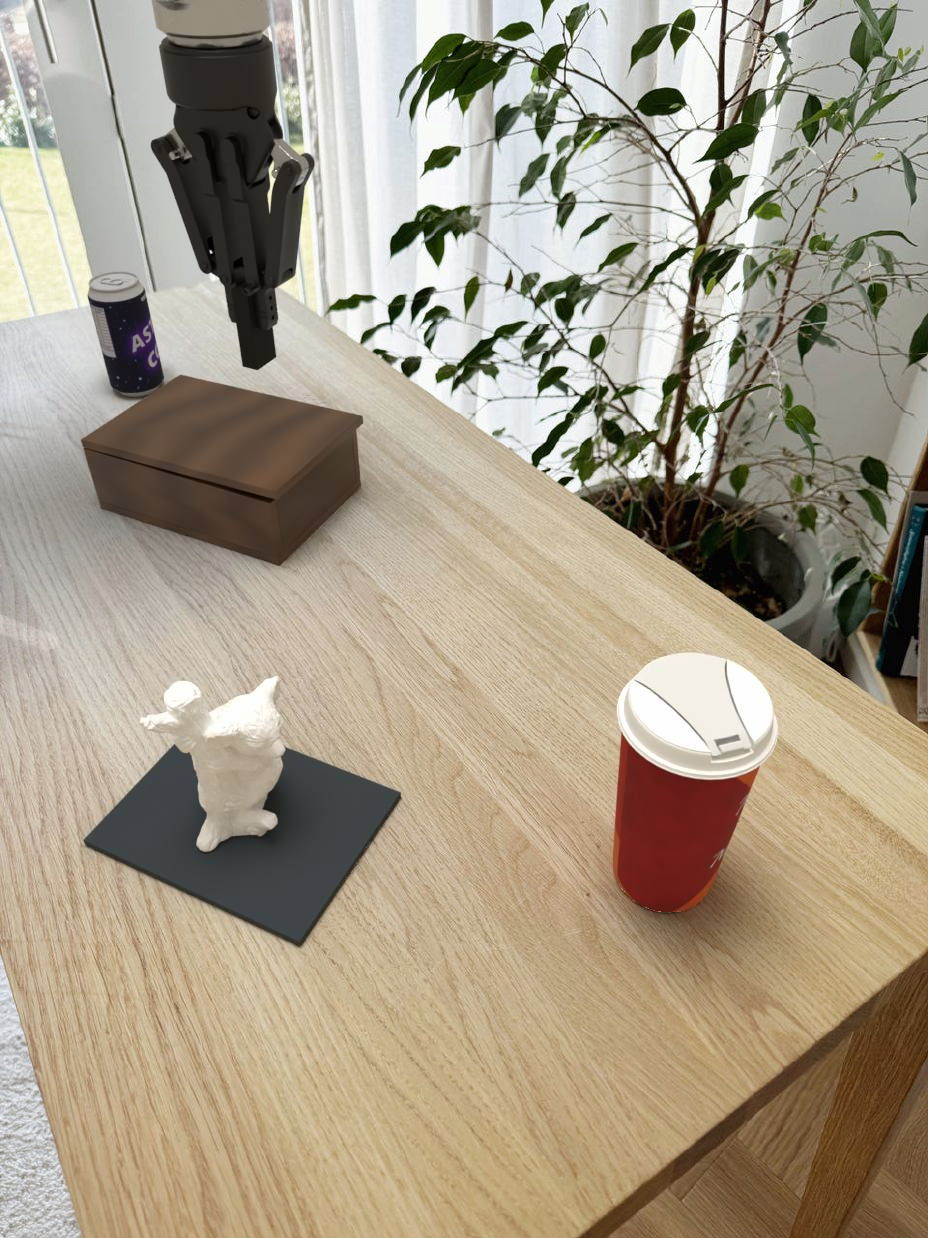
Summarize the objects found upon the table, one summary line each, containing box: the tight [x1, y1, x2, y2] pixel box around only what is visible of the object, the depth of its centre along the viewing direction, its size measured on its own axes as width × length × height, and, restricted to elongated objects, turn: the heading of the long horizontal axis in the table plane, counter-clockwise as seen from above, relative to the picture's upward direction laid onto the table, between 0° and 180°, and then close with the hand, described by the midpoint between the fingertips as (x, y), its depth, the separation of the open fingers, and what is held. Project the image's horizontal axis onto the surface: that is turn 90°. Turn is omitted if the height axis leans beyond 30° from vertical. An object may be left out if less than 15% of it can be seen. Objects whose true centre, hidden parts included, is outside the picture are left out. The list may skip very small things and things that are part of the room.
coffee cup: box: [612, 651, 779, 913], centre depth 54 cm, size 8×8×15 cm
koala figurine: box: [139, 675, 286, 852], centre depth 58 cm, size 8×7×12 cm
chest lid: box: [80, 374, 364, 500], centre depth 85 cm, size 20×14×1 cm, turn 64°
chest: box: [82, 429, 362, 566], centre depth 88 cm, size 20×14×6 cm
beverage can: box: [87, 270, 165, 398], centre depth 102 cm, size 6×6×12 cm
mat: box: [82, 743, 402, 946], centre depth 62 cm, size 16×12×1 cm
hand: (259, 361), depth 80 cm, fingers closed
